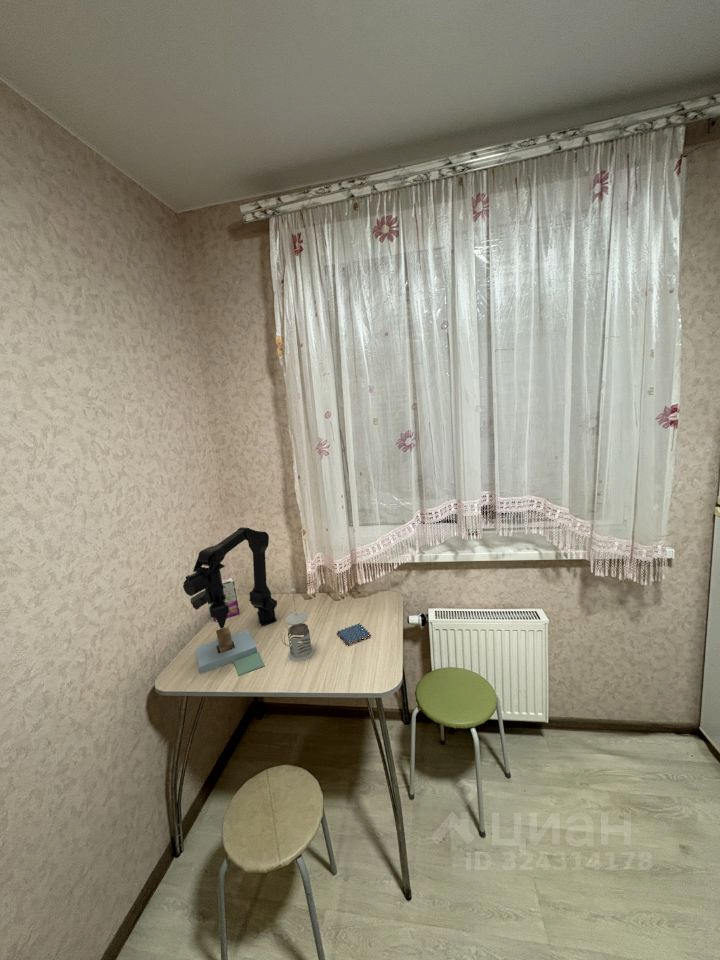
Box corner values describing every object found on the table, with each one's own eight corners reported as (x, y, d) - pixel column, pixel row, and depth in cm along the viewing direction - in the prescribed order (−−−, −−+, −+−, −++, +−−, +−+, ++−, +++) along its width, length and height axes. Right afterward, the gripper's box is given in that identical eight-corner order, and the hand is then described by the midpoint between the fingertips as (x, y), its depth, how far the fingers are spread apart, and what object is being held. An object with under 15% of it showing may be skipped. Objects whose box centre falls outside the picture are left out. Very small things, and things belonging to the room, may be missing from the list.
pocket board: (249, 635, 153) (249, 629, 153) (257, 652, 141) (256, 646, 141) (196, 653, 145) (195, 647, 144) (199, 673, 132) (198, 667, 132)
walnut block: (232, 648, 146) (228, 626, 144) (233, 654, 142) (230, 632, 140) (219, 652, 144) (215, 630, 142) (221, 658, 140) (217, 636, 138)
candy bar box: (237, 609, 176) (232, 576, 173) (239, 614, 171) (234, 580, 169) (212, 617, 171) (206, 583, 168) (213, 622, 166) (207, 587, 164)
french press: (320, 651, 138) (312, 587, 134) (294, 667, 130) (284, 600, 126) (304, 641, 145) (295, 580, 141) (278, 657, 137) (268, 592, 133)
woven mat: (335, 635, 148) (335, 630, 148) (359, 626, 153) (359, 621, 153) (347, 648, 139) (346, 643, 139) (372, 638, 144) (371, 634, 143)
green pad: (259, 653, 141) (258, 652, 141) (264, 666, 133) (264, 665, 133) (234, 662, 137) (233, 661, 137) (238, 676, 129) (238, 675, 129)
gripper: (188, 580, 143) (195, 618, 146) (191, 599, 127) (199, 642, 129) (219, 572, 148) (226, 609, 151) (225, 590, 131) (232, 631, 134)
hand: (220, 622), depth 141 cm, fingers open, 9 cm apart
